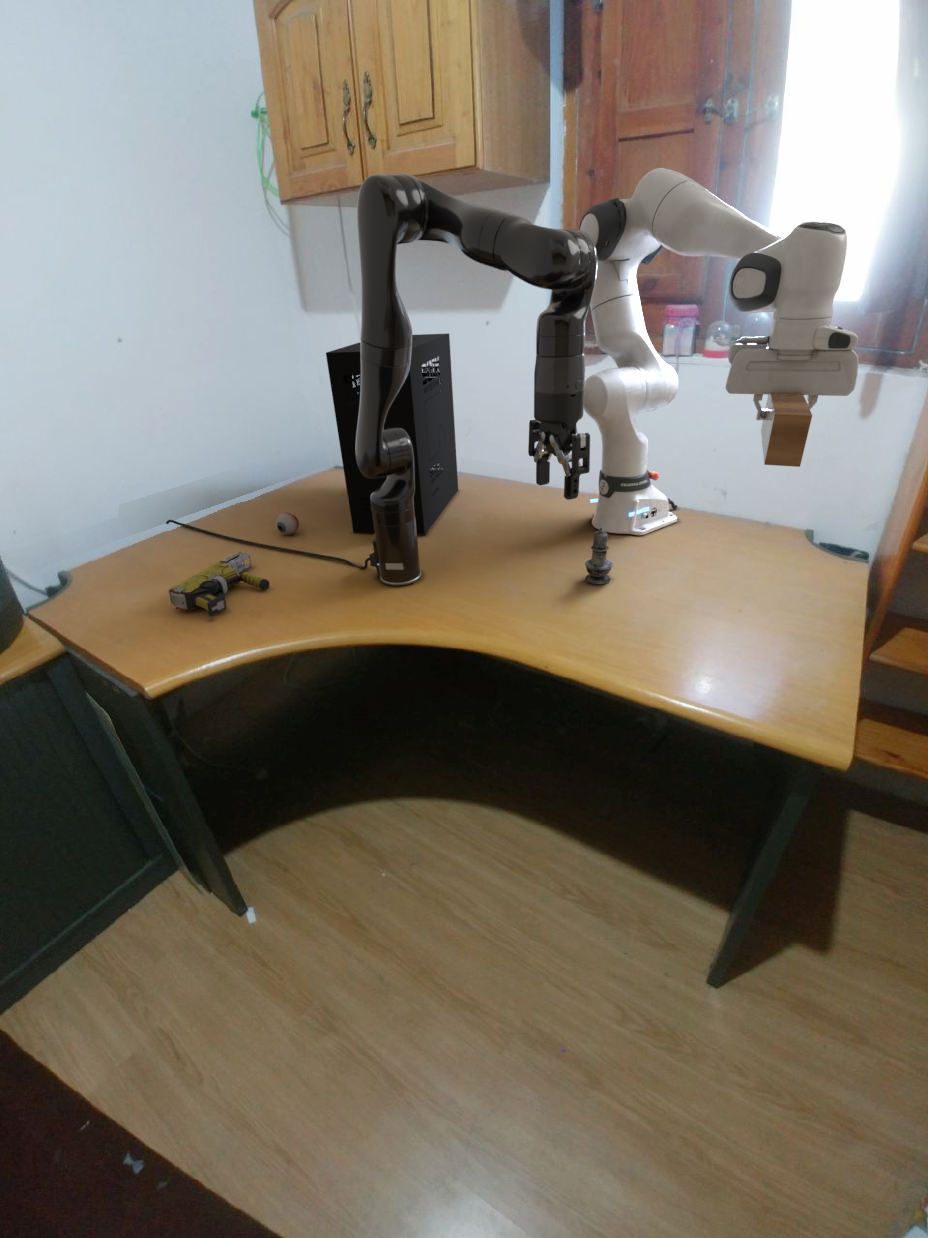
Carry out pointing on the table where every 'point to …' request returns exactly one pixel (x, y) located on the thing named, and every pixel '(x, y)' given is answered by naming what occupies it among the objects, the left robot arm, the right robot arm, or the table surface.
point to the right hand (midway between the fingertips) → (780, 420)
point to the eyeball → (287, 523)
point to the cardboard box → (418, 413)
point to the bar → (785, 429)
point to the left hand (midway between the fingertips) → (556, 491)
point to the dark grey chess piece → (599, 560)
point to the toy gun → (214, 585)
